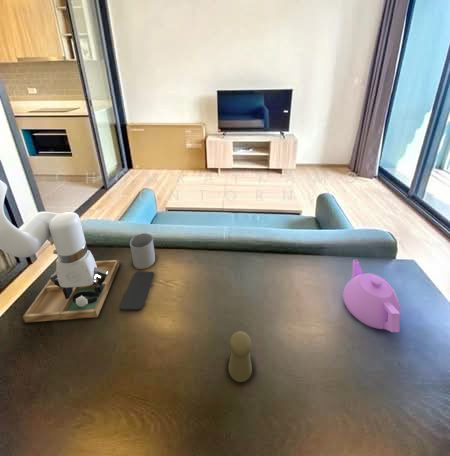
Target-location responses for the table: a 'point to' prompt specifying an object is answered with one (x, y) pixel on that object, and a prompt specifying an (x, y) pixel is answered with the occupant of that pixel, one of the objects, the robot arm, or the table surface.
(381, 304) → the teapot
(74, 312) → the tray
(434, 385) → the table surface
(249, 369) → the olive pawn figure
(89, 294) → the watch
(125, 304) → the phone
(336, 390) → the table surface
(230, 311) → the table surface
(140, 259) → the cup
